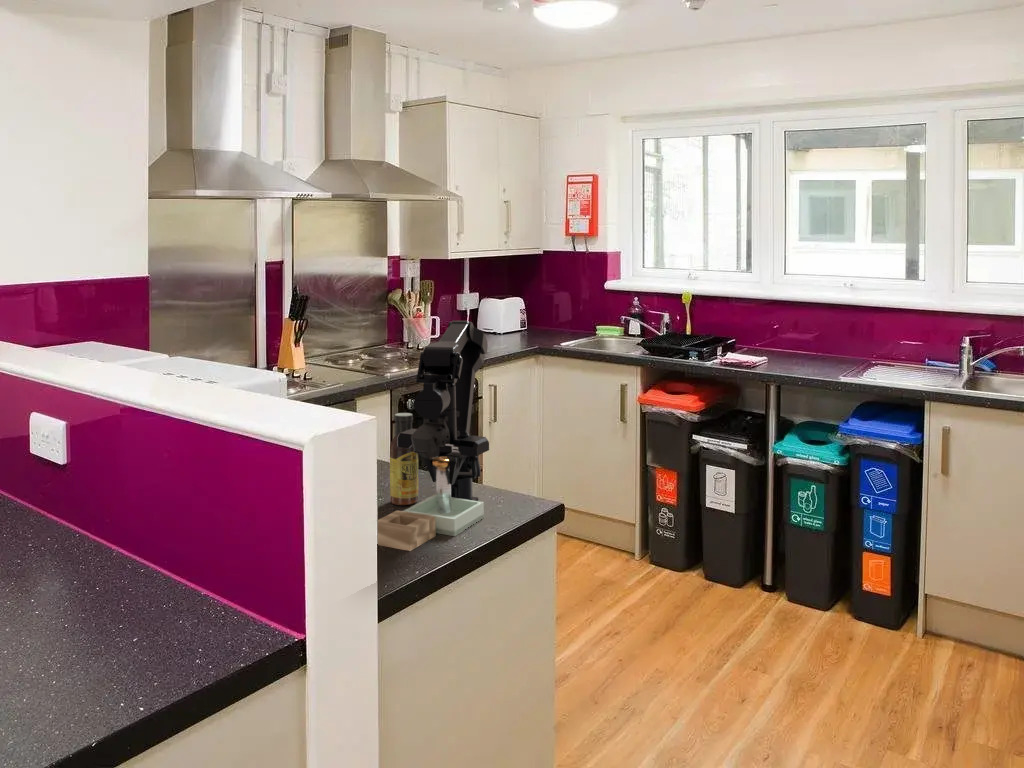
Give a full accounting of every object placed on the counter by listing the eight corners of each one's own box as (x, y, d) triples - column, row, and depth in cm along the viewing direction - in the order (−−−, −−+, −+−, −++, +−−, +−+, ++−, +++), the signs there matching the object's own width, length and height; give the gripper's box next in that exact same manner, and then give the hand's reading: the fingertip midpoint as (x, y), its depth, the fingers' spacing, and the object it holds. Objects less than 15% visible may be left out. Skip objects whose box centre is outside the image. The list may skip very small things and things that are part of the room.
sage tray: (434, 510, 191) (434, 494, 190) (484, 518, 185) (483, 502, 185) (403, 527, 180) (403, 510, 179) (454, 536, 175) (454, 519, 174)
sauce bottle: (404, 508, 192) (402, 418, 188) (384, 503, 196) (381, 415, 192) (425, 501, 197) (423, 413, 193) (405, 496, 201) (402, 410, 197)
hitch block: (397, 529, 179) (396, 510, 178) (435, 536, 175) (435, 516, 174) (371, 543, 171) (370, 523, 170) (410, 551, 167) (409, 530, 166)
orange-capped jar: (440, 506, 185) (439, 455, 183) (458, 509, 183) (457, 457, 181) (429, 512, 181) (427, 460, 179) (447, 515, 179) (446, 463, 177)
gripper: (380, 411, 175) (382, 487, 178) (462, 420, 167) (463, 500, 170) (411, 401, 185) (413, 473, 188) (489, 409, 177) (490, 484, 180)
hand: (443, 482), depth 181 cm, fingers closed on orange-capped jar, 4 cm apart
